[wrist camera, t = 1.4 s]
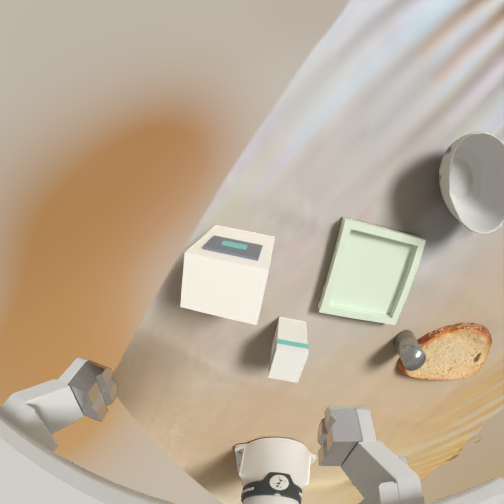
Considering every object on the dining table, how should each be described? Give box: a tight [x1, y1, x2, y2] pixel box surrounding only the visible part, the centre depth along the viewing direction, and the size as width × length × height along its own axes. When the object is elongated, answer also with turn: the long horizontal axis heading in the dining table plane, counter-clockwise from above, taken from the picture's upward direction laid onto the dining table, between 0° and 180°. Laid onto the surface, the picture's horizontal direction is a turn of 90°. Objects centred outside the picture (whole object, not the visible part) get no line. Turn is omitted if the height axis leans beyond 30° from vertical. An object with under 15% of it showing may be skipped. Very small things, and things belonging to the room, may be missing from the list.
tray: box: [318, 217, 426, 325], centre depth 36 cm, size 13×12×2 cm
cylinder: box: [394, 330, 426, 371], centre depth 37 cm, size 4×4×6 cm
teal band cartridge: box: [268, 316, 308, 383], centre depth 38 cm, size 5×4×8 cm
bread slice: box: [398, 322, 492, 380], centre depth 38 cm, size 18×18×4 cm
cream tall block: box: [180, 225, 275, 325], centre depth 33 cm, size 7×8×12 cm
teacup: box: [439, 132, 504, 234], centre depth 27 cm, size 15×12×8 cm
